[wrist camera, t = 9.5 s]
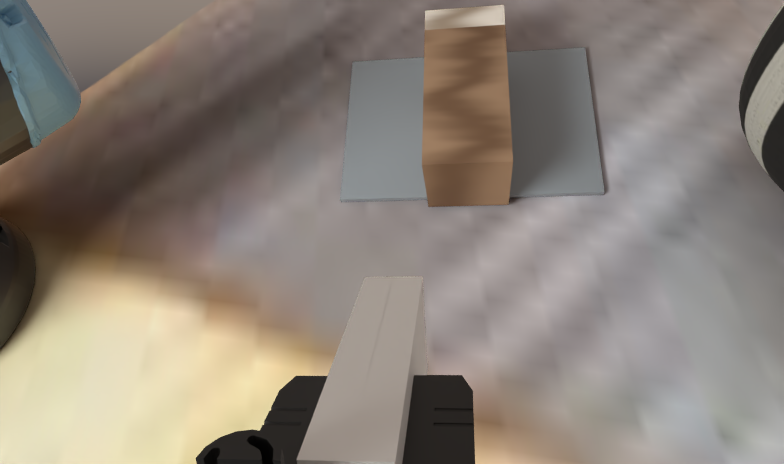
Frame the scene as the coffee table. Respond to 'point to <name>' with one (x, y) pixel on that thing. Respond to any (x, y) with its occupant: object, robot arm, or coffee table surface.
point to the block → (466, 108)
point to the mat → (528, 128)
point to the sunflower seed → (766, 100)
